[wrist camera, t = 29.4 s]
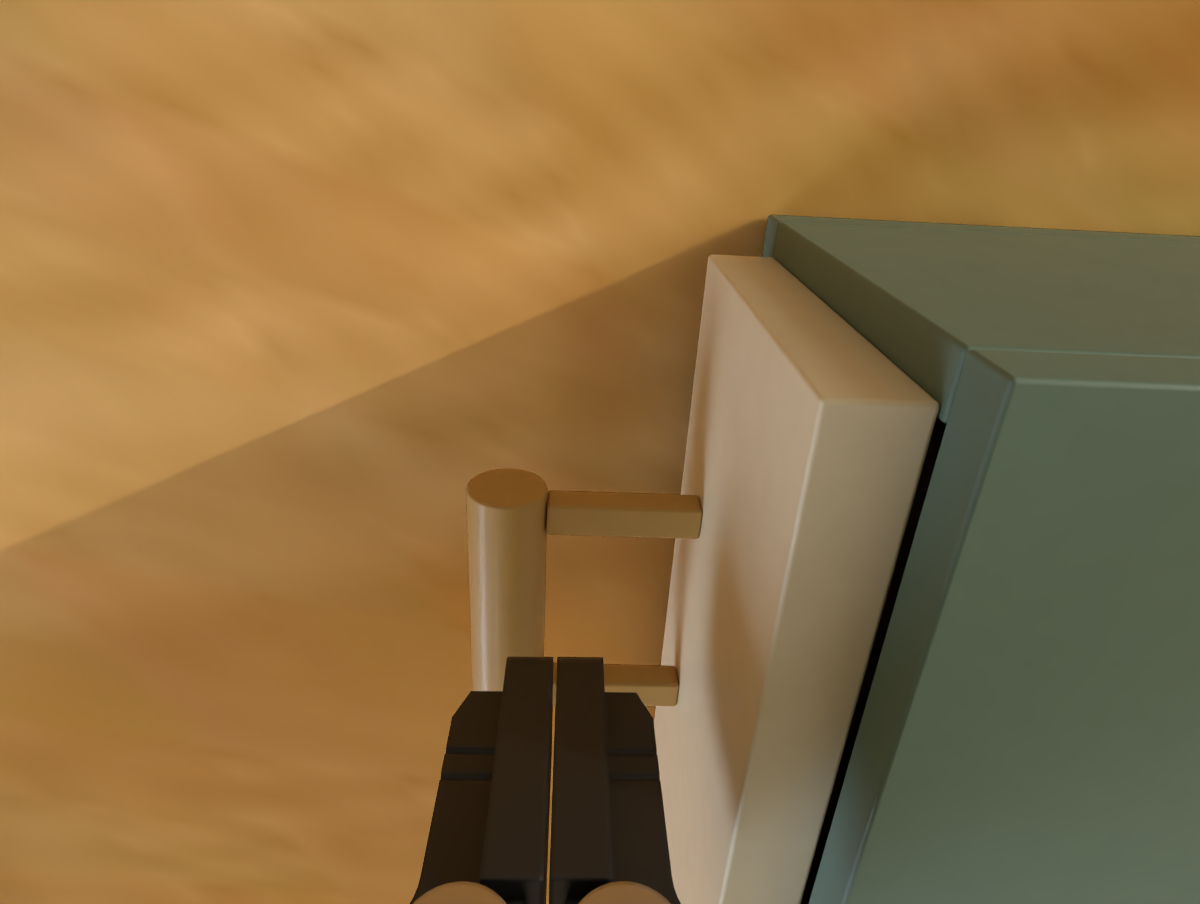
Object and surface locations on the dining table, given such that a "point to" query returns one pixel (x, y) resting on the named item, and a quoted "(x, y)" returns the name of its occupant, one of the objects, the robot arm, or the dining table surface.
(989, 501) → the cabinet
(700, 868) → the drawer
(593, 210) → the dining table surface
